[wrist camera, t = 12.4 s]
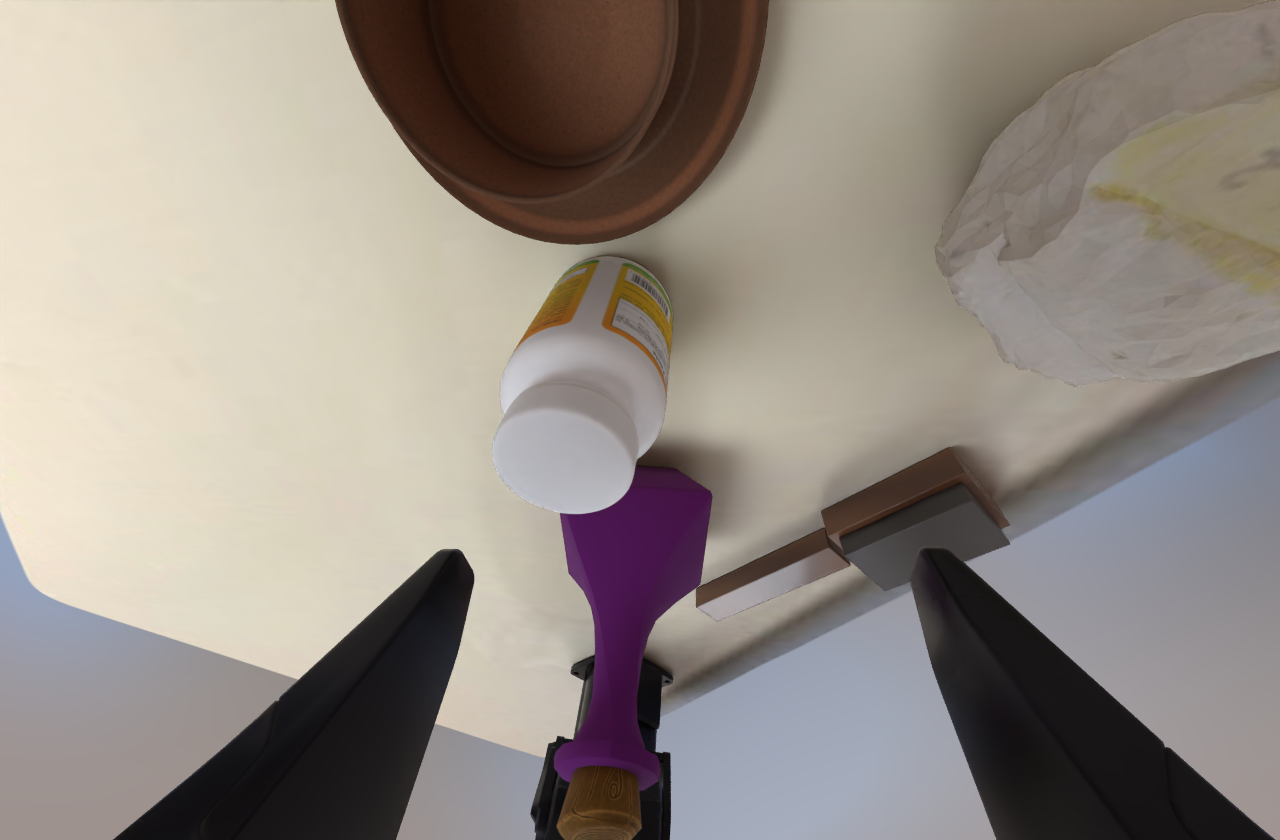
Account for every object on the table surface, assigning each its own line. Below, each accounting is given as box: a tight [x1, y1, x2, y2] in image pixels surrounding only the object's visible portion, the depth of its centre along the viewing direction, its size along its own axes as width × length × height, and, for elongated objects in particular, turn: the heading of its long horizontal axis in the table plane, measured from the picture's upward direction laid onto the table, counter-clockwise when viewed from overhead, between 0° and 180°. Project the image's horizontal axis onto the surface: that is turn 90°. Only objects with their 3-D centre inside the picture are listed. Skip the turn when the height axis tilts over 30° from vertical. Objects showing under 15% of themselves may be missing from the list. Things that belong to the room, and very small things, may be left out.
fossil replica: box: [935, 0, 1280, 387], centre depth 13 cm, size 12×8×10 cm
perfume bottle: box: [554, 466, 712, 840], centre depth 20 cm, size 8×8×18 cm
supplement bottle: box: [492, 256, 673, 514], centre depth 17 cm, size 5×5×10 cm
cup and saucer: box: [335, 0, 769, 245], centre depth 12 cm, size 12×12×6 cm
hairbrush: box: [696, 448, 1010, 621], centre depth 27 cm, size 18×5×3 cm, turn 136°
